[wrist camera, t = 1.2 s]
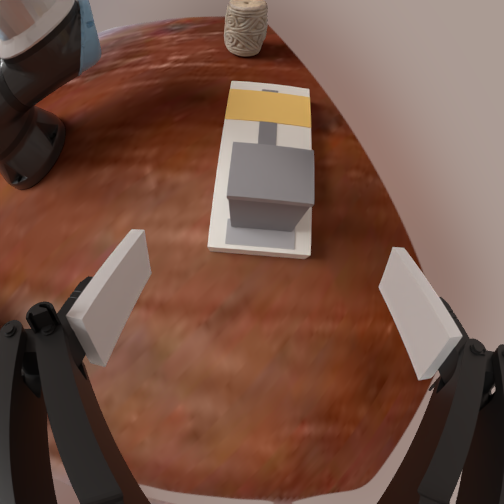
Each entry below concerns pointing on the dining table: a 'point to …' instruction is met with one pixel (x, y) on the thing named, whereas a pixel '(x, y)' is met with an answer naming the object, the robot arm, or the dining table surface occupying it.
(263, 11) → the carving
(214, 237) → the switch panel
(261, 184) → the switch tab
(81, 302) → the robot arm
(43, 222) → the dining table surface
